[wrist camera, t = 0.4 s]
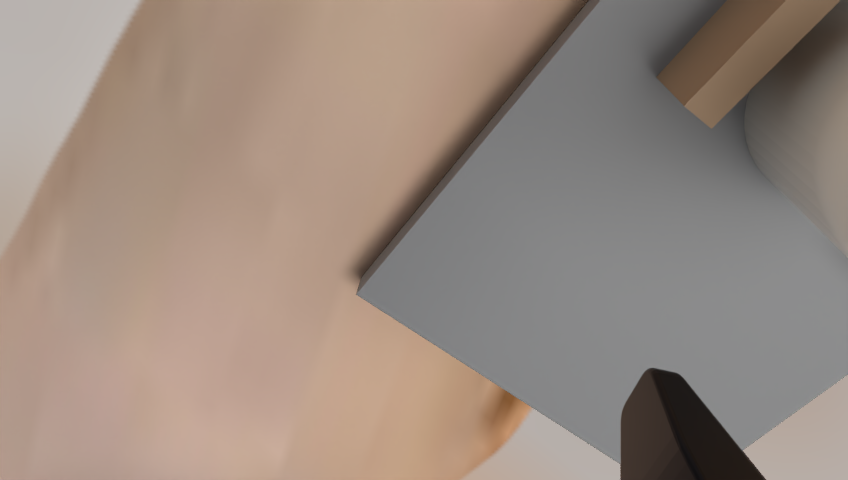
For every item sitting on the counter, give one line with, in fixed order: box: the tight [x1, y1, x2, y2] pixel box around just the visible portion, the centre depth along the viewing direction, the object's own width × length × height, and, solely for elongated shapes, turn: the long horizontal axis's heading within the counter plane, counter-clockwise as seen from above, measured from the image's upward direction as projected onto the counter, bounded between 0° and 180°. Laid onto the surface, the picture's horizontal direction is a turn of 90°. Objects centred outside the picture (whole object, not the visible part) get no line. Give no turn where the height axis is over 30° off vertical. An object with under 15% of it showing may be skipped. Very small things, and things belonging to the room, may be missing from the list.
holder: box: [356, 0, 848, 464], centre depth 20 cm, size 24×16×4 cm, turn 144°
